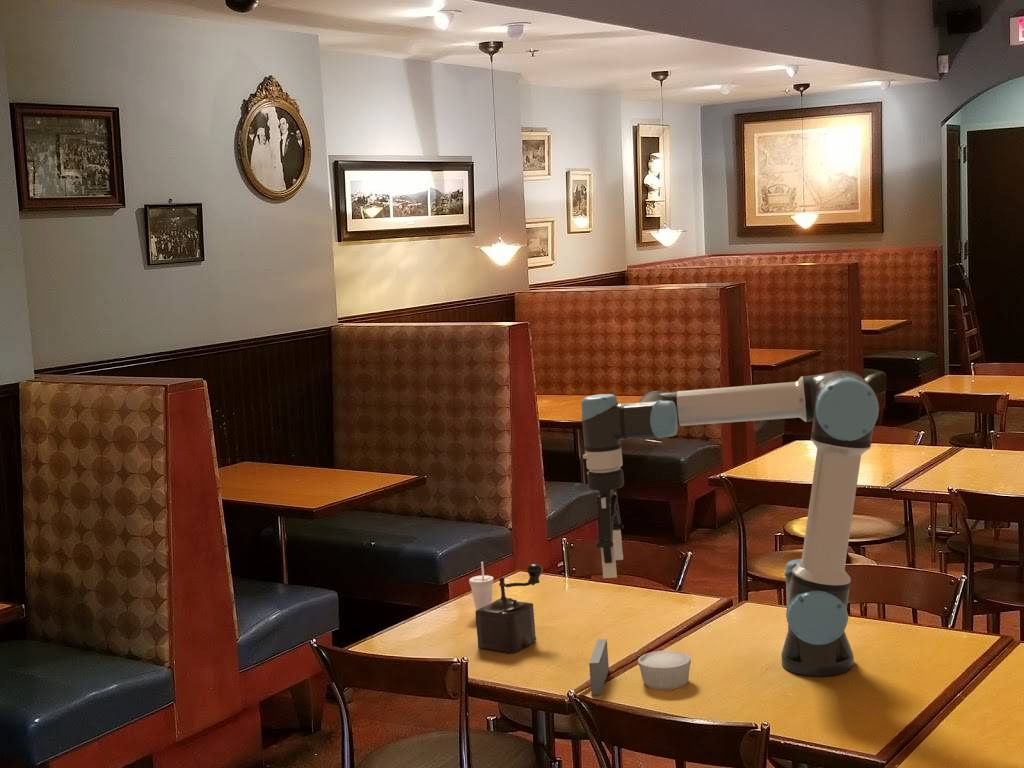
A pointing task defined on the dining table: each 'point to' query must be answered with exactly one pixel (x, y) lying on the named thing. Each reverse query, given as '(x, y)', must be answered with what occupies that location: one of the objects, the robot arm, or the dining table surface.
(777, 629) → the dining table surface
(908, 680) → the dining table surface
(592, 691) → the board
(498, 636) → the coffee grinder
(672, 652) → the ramekin
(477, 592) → the smoothie
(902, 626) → the dining table surface
